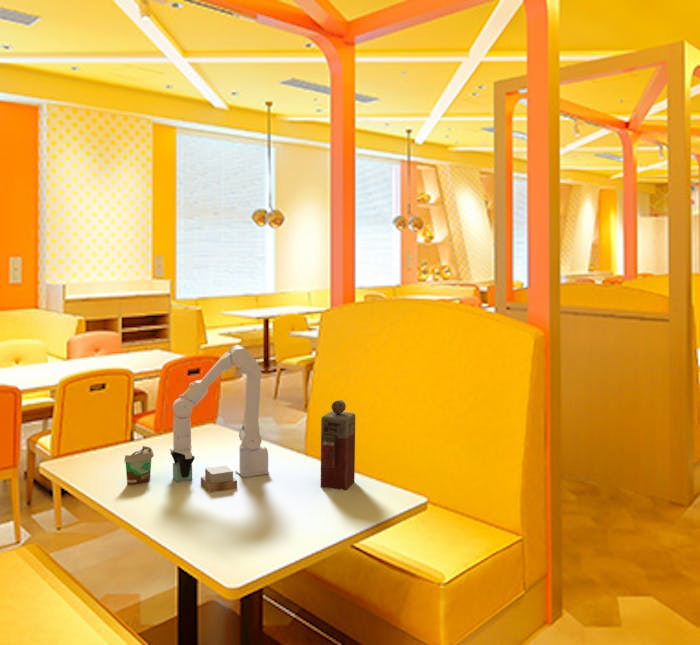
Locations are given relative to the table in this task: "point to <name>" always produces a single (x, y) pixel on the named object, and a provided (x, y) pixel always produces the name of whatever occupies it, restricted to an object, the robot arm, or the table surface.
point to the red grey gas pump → (338, 448)
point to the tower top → (219, 474)
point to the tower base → (218, 485)
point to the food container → (139, 466)
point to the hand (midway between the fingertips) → (182, 474)
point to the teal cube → (177, 473)
